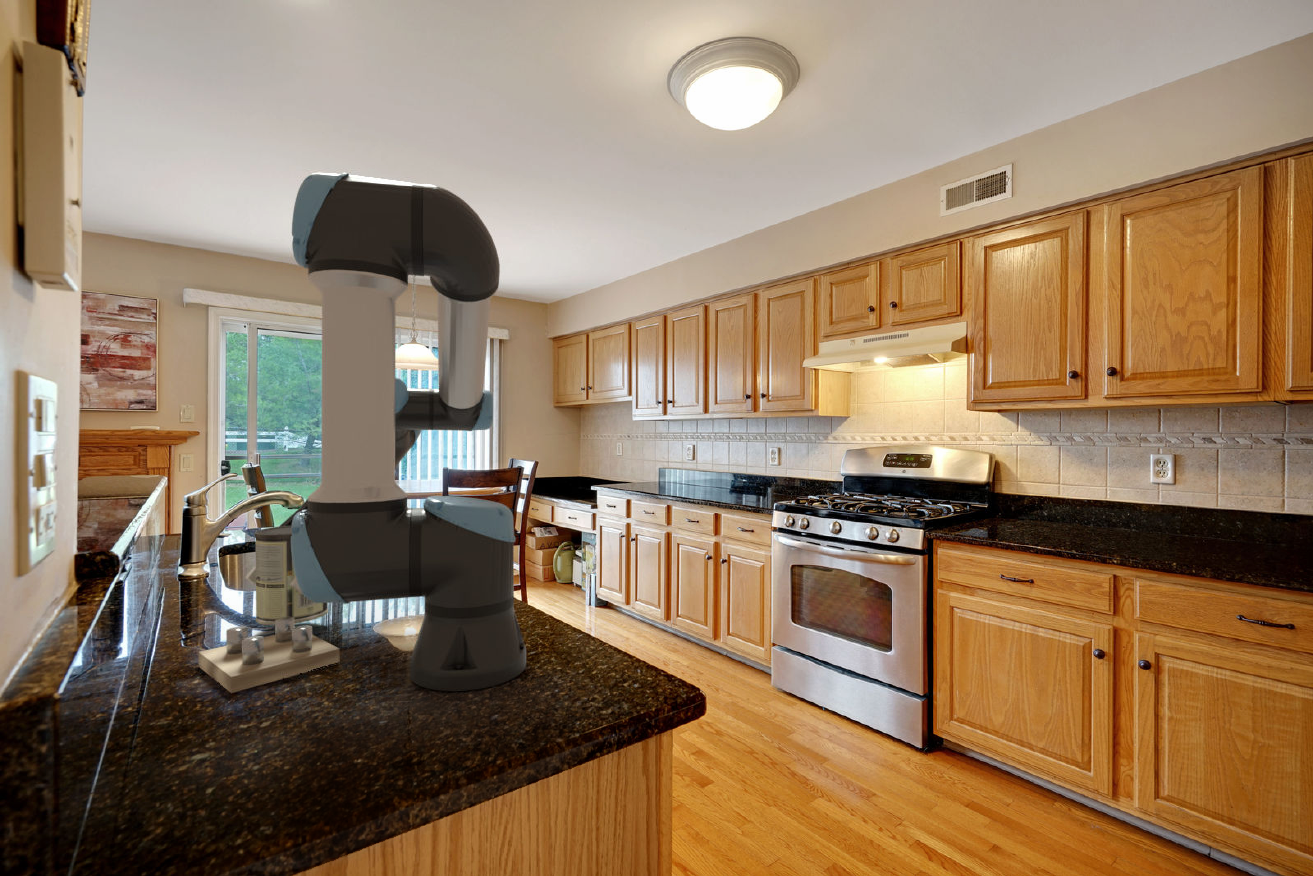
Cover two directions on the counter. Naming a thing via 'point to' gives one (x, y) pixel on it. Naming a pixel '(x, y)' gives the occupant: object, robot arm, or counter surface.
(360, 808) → the counter surface
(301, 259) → the robot arm
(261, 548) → the coffee can
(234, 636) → the peg set
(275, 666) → the stand plate
